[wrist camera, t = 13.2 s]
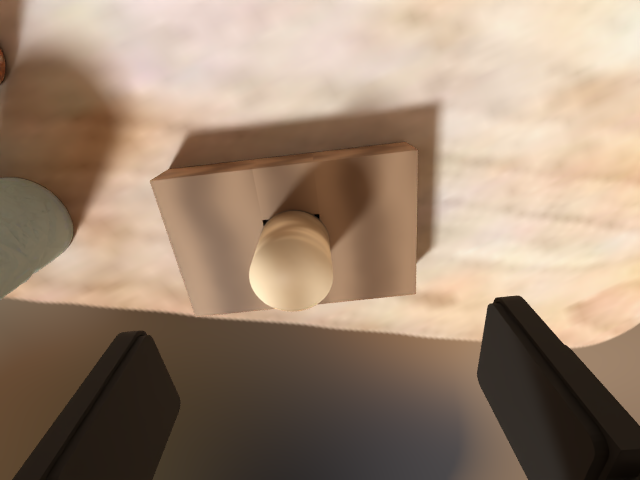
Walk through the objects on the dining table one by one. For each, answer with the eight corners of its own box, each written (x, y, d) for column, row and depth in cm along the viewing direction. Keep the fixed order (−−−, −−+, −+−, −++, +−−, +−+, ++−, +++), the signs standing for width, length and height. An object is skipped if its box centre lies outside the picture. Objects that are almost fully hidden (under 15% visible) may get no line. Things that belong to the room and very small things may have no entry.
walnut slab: (405, 141, 31) (418, 150, 27) (405, 273, 37) (415, 294, 33) (168, 169, 31) (149, 180, 28) (206, 293, 37) (195, 316, 34)
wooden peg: (324, 193, 32) (329, 234, 23) (330, 251, 35) (336, 307, 26) (259, 200, 32) (240, 244, 24) (270, 257, 35) (257, 315, 26)
